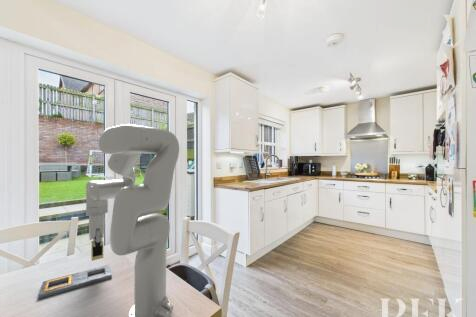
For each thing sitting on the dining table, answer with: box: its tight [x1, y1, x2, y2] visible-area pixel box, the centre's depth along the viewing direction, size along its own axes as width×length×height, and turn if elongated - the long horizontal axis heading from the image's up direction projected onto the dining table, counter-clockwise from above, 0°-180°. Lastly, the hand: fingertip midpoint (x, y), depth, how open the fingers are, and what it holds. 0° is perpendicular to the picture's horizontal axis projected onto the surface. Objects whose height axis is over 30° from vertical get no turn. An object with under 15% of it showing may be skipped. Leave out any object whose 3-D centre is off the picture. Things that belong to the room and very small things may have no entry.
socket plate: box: [38, 264, 113, 300], centre depth 83 cm, size 22×10×2 cm, turn 127°
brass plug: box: [90, 237, 104, 261], centre depth 86 cm, size 4×4×7 cm
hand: (97, 253), depth 86 cm, fingers closed on brass plug, 4 cm apart
